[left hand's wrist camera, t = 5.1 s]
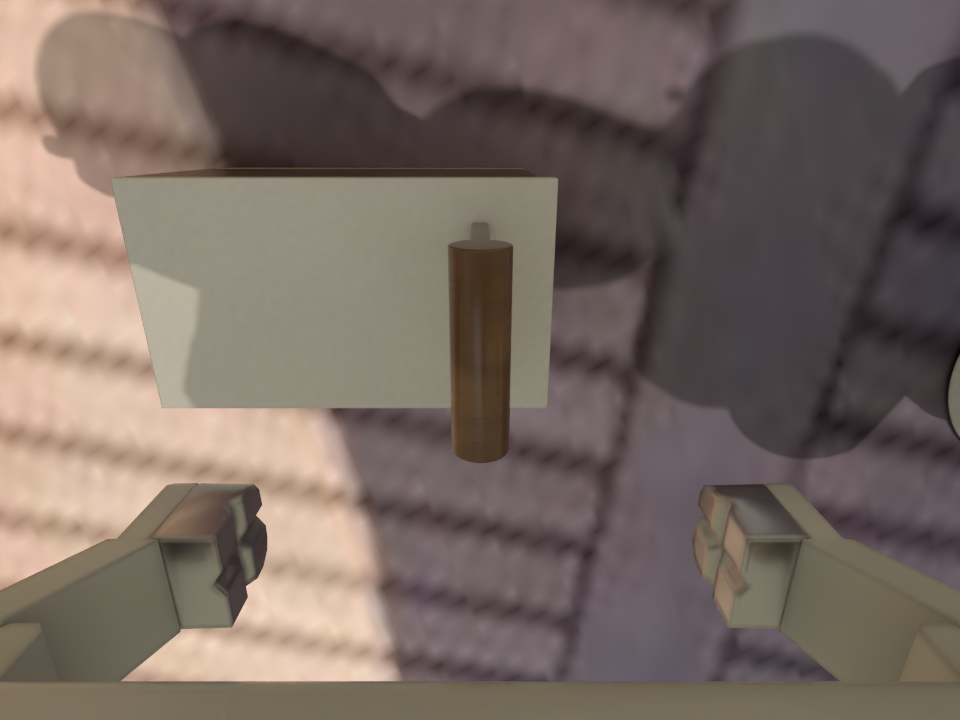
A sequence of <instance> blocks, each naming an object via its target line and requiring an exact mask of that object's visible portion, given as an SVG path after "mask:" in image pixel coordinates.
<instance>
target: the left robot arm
mask: <svg viewBox="0 0 960 720" xmlns="http://www.w3.org/2000/svg"><path fill="white" fill-rule="evenodd" d="M948 408H949V414H950V418H951V422H952V424H953V427H954V429H955V431H956V433H957V434H958V436H959V437H960V355H959V357H958V359H957V361H956V364H955V366H954V369H953V372H952V376H951V379H950V384H949V392H948ZM261 506H262V502H261V497H260V492H259V489H258V488H257V487H256V486H255V485H252V484H203V483H201V484H198V483H174V484H170V485H167V486H166V487H165V488H164V489H163V490H162V491H161V492H160V493H159V494H158V495H157V496H156V497H155V498H154V500H153V501H152V502H151V503H150V504H149V505H148V506H147V507H146V508H145V509H144V510H143V511H142V512H141V513H140V515H139V516H138V517H137V518H136V519H135V520H134V521H133V522H132V523H131V524H130V525H129V526H128V527H127V528H126V530H125V531H124V532H123V533H122V534H121V535H120V536H119V537H118V538H117V539H107V540H105V541H103V542H100V543H98V544H96V545H94V546H92V547H90V548H88V549H86V550H84V551H82V552H80V553H78V554H75V555H73V556H71V557H69V558H67V559H65V560H63V561H61V562H59V563H57V564H55V565H53V566H50V567H48V568H46V569H44V570H42V571H40V572H38V573H36V574H34V575H32V576H30V577H28V578H25V579H23V580H21V581H19V582H17V583H15V584H13V585H11V586H9V587H7V588H5V589H3V590H1V591H0V720H960V591H959V590H957V589H955V588H953V587H951V586H949V585H947V584H945V583H943V582H941V581H938V580H936V579H934V578H932V577H930V576H928V575H926V574H924V573H922V572H920V571H918V570H916V569H914V568H911V567H909V566H907V565H905V564H903V563H901V562H899V561H897V560H895V559H893V558H891V557H889V556H887V555H884V554H882V553H880V552H878V551H876V550H874V549H872V548H870V547H868V546H866V545H864V544H862V543H860V542H857V541H855V540H853V539H843V538H842V537H841V536H840V535H839V534H838V533H837V532H836V531H835V529H834V528H833V527H832V526H831V525H830V524H829V523H828V522H827V521H826V520H825V519H824V518H823V517H822V516H821V514H820V513H819V512H818V511H817V510H816V509H815V508H814V507H813V506H812V505H811V504H810V503H809V502H808V501H807V499H806V498H805V497H804V496H803V495H802V494H801V493H800V492H799V491H798V490H797V489H796V488H795V487H794V486H793V485H790V484H788V483H770V484H748V485H704V486H703V488H702V490H701V492H700V496H699V501H698V506H699V507H700V509H701V511H702V512H703V514H704V516H703V517H702V518H701V519H700V520H699V521H698V522H697V523H696V524H695V525H694V533H693V552H694V558H695V561H696V565H697V568H698V570H699V572H700V574H701V576H702V578H703V579H705V580H706V581H708V582H709V583H710V584H712V585H713V586H714V591H713V596H712V597H713V599H714V601H715V603H716V605H717V607H718V609H719V611H720V613H721V615H722V616H723V618H724V620H725V622H726V624H727V626H728V627H731V628H767V629H780V632H781V633H782V634H783V635H785V636H786V637H787V638H788V639H789V640H791V641H792V642H793V643H794V644H796V645H797V646H798V647H799V648H800V649H802V650H803V651H804V652H805V653H806V654H808V655H809V656H810V657H811V658H813V659H814V660H815V661H816V662H817V663H819V664H820V665H821V666H822V667H823V668H825V669H826V670H827V671H828V672H830V673H831V674H832V675H833V676H834V677H836V678H837V679H838V680H839V681H841V682H437V681H283V682H130V681H121V680H122V679H123V678H125V677H126V676H127V675H128V674H129V673H131V672H132V671H133V670H134V669H135V668H137V667H138V666H139V665H140V664H142V663H143V662H144V661H145V660H146V659H148V658H149V657H150V656H151V655H153V654H154V653H155V652H156V651H157V650H159V649H160V648H161V647H162V646H164V645H165V644H166V643H167V642H168V641H170V640H171V639H172V638H173V637H174V636H176V635H177V634H178V633H179V632H180V629H193V628H227V627H232V626H233V624H234V622H235V620H236V618H237V617H238V615H239V613H240V611H241V609H242V607H243V605H244V603H245V601H246V599H247V597H248V596H247V591H246V586H247V585H248V584H250V583H251V582H252V581H254V580H255V579H257V578H258V576H259V574H260V572H261V570H262V568H263V566H264V561H265V557H266V552H267V532H266V525H265V524H264V523H263V522H262V521H261V520H260V519H259V518H258V517H257V516H256V514H257V512H258V511H259V509H260V507H261Z"/></svg>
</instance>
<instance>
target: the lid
mask: <svg viewBox="0 0 960 720" xmlns="http://www.w3.org/2000/svg"><path fill="white" fill-rule="evenodd" d="M110 180H111V184H112V189H113V193H114V197H115V202H116V206H117V211H118V215H119V220H120V224H121V228H122V233H123V237H124V242H125V246H126V250H127V255H128V259H129V264H130V268H131V273H132V277H133V281H134V286H135V290H136V295H137V299H138V303H139V308H140V312H141V317H142V321H143V326H144V330H145V334H146V339H147V343H148V348H149V352H150V356H151V361H152V365H153V370H154V374H155V378H156V383H157V387H158V392H159V396H160V401H161V405H162V408H451V432H452V451H453V453H454V454H455V455H456V456H457V457H459V458H460V459H462V460H465V461H469V462H474V463H486V462H492V461H496V460H498V459H501V458H502V457H504V456H505V455H506V454H507V452H508V450H509V421H510V408H547V402H548V382H549V361H550V341H551V320H552V300H553V279H554V259H555V238H556V218H557V197H558V178H556V177H114V178H111V179H110Z"/></svg>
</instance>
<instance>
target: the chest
mask: <svg viewBox="0 0 960 720" xmlns="http://www.w3.org/2000/svg"><path fill="white" fill-rule="evenodd" d="M126 177H538V176H536V175H534V174H532V173H530V172H528V171H526V170H525V169H524V168H212V169H204V170H193V171H182V172H170V173H159V174H148V175H136V176H126Z"/></svg>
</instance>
